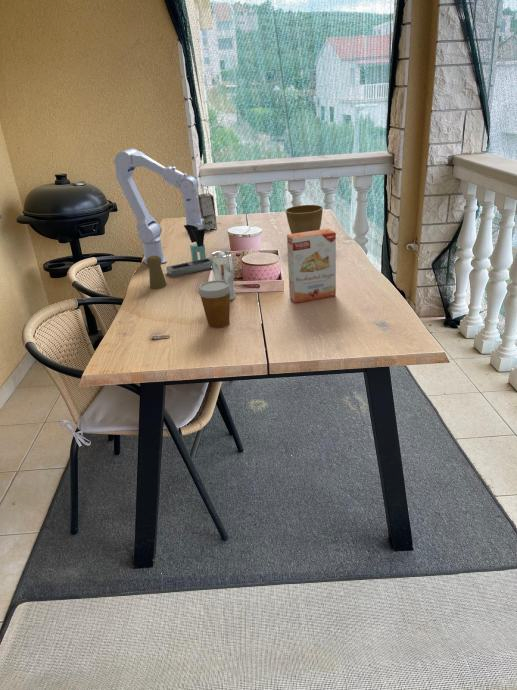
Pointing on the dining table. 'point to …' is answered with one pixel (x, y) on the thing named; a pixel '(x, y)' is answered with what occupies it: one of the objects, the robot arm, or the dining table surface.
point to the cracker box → (312, 265)
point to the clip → (197, 249)
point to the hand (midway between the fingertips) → (197, 244)
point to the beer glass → (224, 268)
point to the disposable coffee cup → (216, 302)
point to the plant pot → (304, 218)
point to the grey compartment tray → (189, 267)
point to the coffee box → (207, 211)
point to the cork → (156, 272)
